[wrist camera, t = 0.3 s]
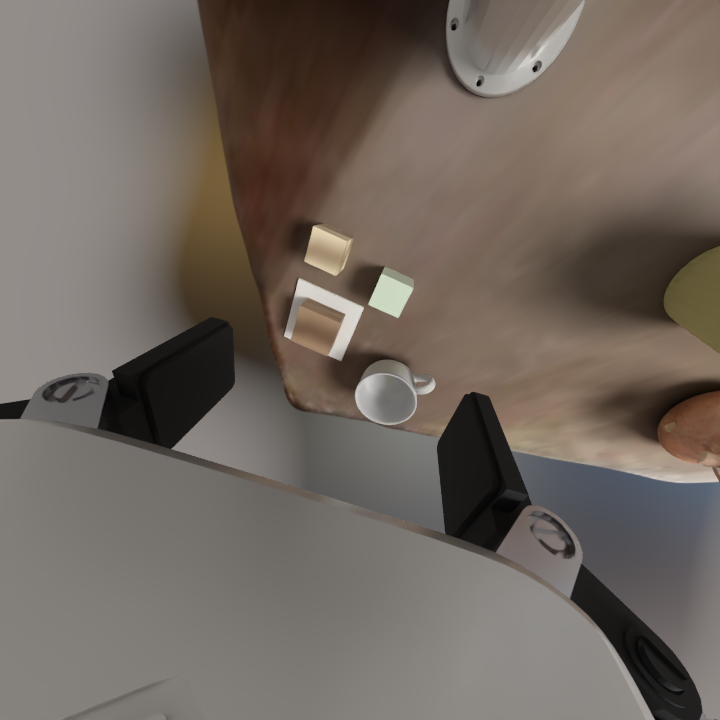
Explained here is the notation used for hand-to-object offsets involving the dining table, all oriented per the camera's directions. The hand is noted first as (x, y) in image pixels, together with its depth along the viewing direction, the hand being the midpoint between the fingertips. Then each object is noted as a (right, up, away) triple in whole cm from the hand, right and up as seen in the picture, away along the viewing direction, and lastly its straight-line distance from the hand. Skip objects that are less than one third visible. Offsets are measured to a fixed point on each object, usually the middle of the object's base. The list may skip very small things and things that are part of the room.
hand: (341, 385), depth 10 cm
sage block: (+6, +13, +32) cm, 35 cm away
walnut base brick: (-6, +8, +37) cm, 39 cm away
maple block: (-3, +19, +31) cm, 36 cm away
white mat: (-6, +8, +38) cm, 39 cm away
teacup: (+8, -2, +41) cm, 42 cm away
